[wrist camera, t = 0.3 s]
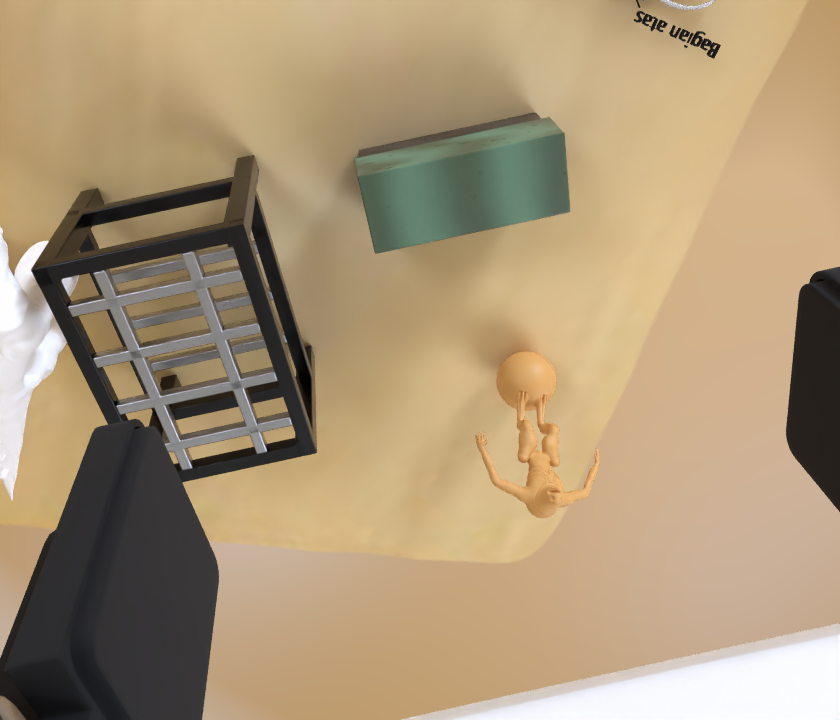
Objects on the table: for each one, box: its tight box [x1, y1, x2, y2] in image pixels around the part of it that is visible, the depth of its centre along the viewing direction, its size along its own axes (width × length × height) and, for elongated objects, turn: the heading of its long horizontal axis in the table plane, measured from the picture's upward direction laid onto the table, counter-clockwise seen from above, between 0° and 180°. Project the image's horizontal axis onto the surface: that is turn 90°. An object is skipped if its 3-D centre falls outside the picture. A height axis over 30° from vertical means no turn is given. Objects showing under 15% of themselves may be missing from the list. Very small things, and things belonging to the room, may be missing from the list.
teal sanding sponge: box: [355, 113, 570, 254], centre depth 45 cm, size 11×4×5 cm, turn 100°
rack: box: [31, 155, 317, 482], centre depth 45 cm, size 14×10×10 cm
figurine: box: [476, 351, 600, 518], centre depth 51 cm, size 8×6×12 cm
